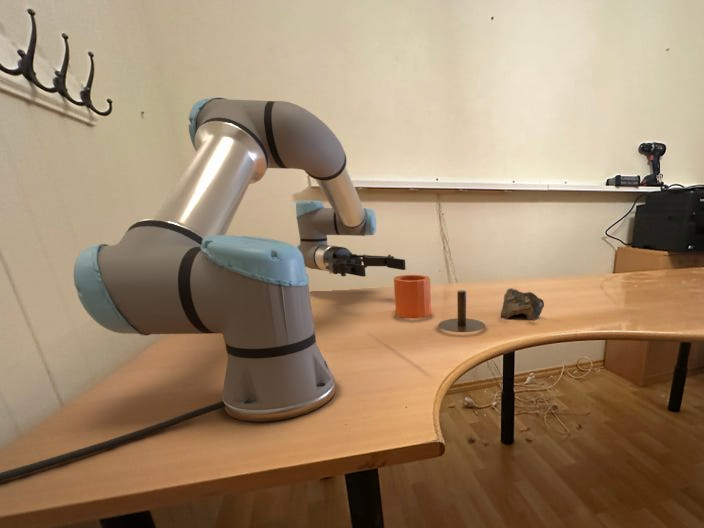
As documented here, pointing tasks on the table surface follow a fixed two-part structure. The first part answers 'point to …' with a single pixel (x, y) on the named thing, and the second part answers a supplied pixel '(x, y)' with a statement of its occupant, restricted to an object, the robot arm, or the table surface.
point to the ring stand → (461, 318)
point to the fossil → (521, 304)
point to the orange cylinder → (412, 296)
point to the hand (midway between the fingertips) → (385, 267)
